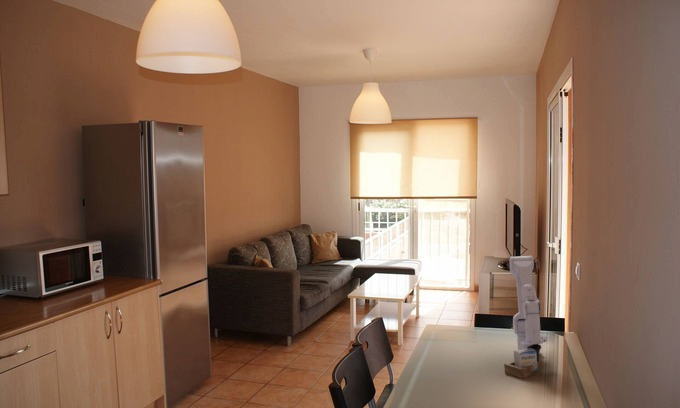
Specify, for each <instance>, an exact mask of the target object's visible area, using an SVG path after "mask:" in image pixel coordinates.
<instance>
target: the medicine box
mask: <svg viewBox="0 0 680 408" xmlns="http://www.w3.org/2000/svg"><path fill="white" fill-rule="evenodd" d="M513 357H514V358H513V361H515V366H516V367H520V368H523V367H526V366H529V365H534V372H538V370H539V369H538V368H539V367H538V362H537V354H536V350H534V349H532V348H526V349H521V350H518V349H516V350H513Z"/></svg>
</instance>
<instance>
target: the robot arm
mask: <svg viewBox="0 0 680 408" xmlns="http://www.w3.org/2000/svg"><path fill="white" fill-rule="evenodd" d="M508 260H509V272H510V275H512V276H514V279H515V282H516V283H515V284H516V294H517V296H516V297H517V305H518V306H517V307H518V312H517V313H515V314H514V315H513V318H512V329H513V333H514V334H516V337H517V338H516V340H517V350H521V349H526V348H532V349H534V350H536V354H537V363H539V361H540V359H539V358H540V357H539V355H542V352H541V349H542V344H543V343H547V342H548V338H547V336H541V335H542V334H541V321H540V320H541V319H540V318H541V316H540V315H541V314H542V313H541V312H542V305H541V302H540V300H539V298H538V297H537V292H536V288H535V286H533V285H532V279H531V274H532V273H533V270H534V266H535V262H534V260H535V259H534V257H533V256H532V255H523V256H522V255H521V256H519V255H518V256H510V257H509V259H508Z"/></svg>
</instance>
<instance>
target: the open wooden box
mask: <svg viewBox="0 0 680 408" xmlns="http://www.w3.org/2000/svg"><path fill="white" fill-rule="evenodd" d="M503 366H504V373H505V374H508V375H511V376H514V377H517V378H520V379H525V378H527V377H530V376H533V375H535V371H534V365H529V366H526V367H523V368H520V367H516V366H515V361H514V360H513V361H510V362H507V363H506V362H505V363H504V365H503Z"/></svg>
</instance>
